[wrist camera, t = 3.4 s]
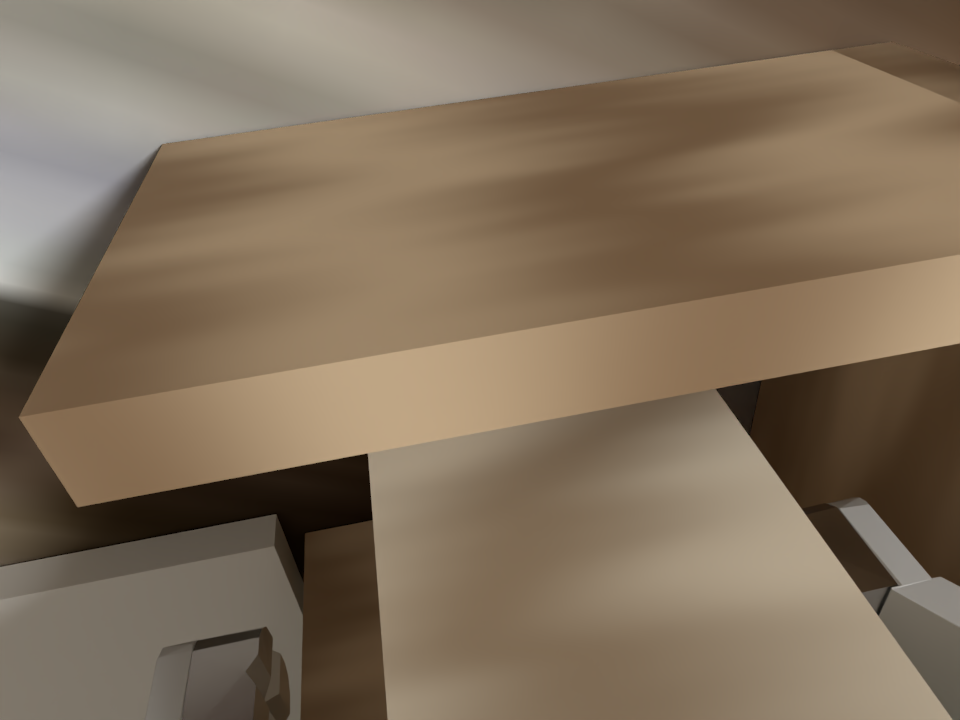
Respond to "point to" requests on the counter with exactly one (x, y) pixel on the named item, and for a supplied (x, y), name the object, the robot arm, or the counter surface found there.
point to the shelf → (535, 299)
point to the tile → (140, 616)
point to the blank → (620, 579)
